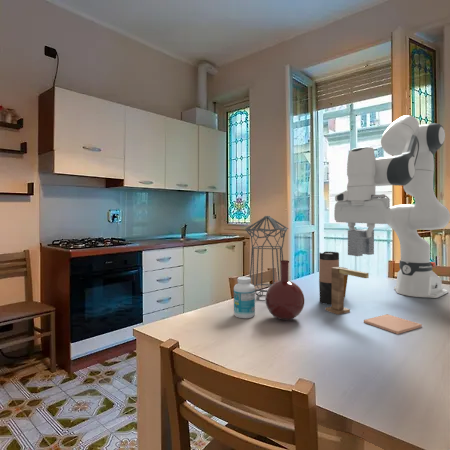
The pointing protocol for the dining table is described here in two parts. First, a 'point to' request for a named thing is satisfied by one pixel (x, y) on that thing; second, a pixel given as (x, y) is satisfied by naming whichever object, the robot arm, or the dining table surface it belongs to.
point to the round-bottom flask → (284, 296)
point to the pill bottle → (244, 298)
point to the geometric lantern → (275, 225)
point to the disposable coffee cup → (345, 281)
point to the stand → (341, 288)
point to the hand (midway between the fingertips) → (360, 236)
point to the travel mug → (327, 275)
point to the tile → (392, 323)
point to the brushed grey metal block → (360, 243)
